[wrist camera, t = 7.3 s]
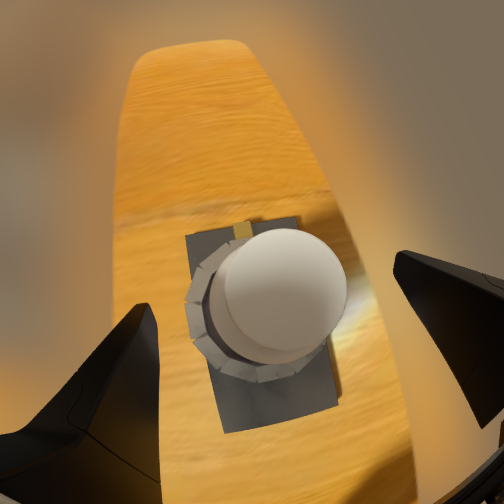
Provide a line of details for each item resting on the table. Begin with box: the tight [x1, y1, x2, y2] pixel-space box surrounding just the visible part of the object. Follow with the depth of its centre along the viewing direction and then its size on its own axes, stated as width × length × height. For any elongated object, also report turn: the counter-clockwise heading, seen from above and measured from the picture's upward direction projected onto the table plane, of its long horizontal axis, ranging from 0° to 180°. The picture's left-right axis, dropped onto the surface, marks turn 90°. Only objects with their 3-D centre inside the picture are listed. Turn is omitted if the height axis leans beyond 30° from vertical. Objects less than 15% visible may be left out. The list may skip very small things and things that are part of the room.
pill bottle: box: [209, 228, 347, 364], centre depth 13 cm, size 5×5×10 cm
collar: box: [185, 221, 327, 383], centre depth 17 cm, size 10×9×2 cm
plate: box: [185, 217, 339, 434], centre depth 18 cm, size 14×8×1 cm, turn 12°
